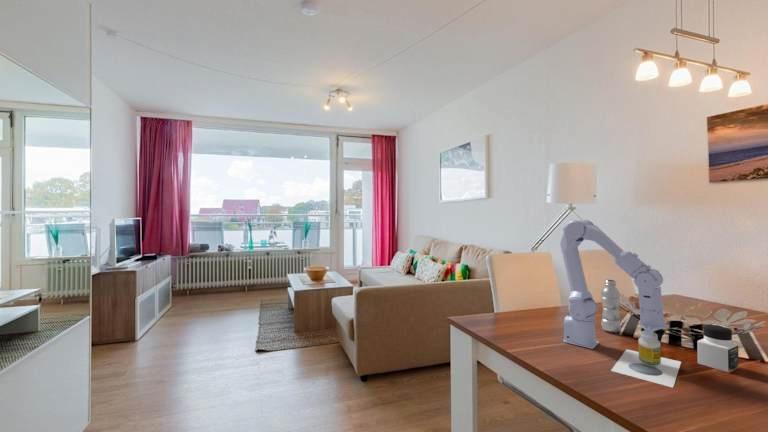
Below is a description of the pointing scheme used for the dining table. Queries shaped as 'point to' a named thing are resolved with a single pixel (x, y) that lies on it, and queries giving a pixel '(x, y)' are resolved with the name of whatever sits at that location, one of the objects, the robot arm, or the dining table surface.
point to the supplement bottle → (649, 349)
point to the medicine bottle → (718, 348)
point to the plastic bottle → (610, 307)
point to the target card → (647, 369)
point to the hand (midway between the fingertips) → (654, 353)
